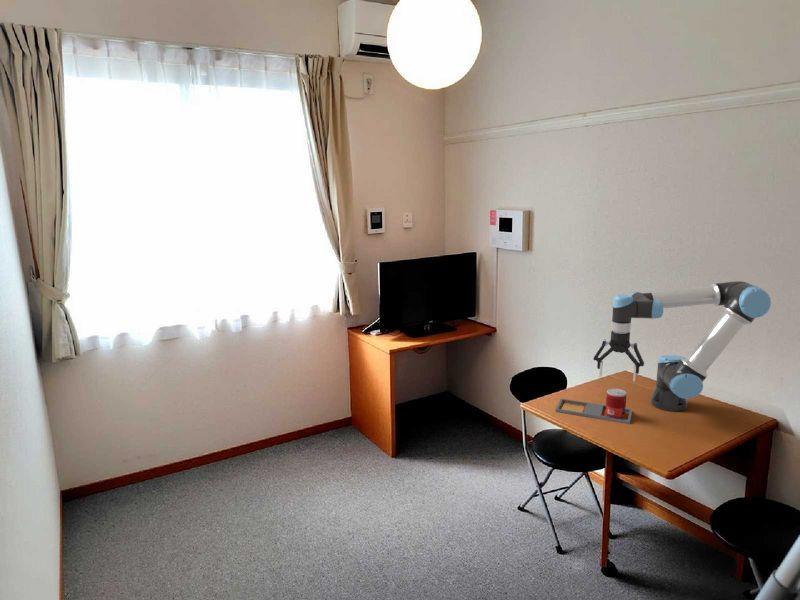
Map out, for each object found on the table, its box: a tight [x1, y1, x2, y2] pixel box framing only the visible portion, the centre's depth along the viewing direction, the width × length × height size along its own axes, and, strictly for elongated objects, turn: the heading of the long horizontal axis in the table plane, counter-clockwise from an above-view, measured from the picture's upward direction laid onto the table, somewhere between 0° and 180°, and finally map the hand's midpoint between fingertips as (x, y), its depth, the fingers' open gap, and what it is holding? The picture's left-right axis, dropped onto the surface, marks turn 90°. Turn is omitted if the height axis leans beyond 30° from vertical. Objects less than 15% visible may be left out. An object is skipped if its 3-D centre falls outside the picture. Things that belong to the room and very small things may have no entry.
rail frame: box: [555, 398, 633, 425], centre depth 245 cm, size 31×13×1 cm, turn 64°
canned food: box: [605, 388, 627, 419], centre depth 240 cm, size 8×8×11 cm
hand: (617, 378), depth 238 cm, fingers open, 13 cm apart
